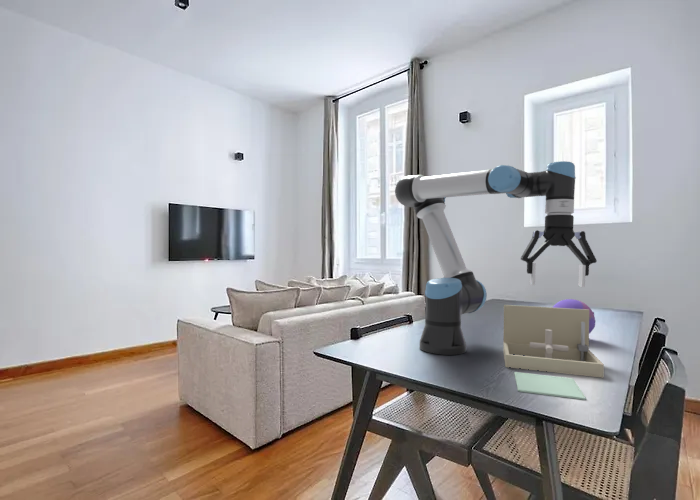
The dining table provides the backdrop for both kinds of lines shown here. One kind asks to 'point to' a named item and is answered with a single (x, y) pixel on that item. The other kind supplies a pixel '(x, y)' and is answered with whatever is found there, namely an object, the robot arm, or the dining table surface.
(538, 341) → the case
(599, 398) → the dining table surface
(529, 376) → the mat
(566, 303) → the decorative ball
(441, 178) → the robot arm
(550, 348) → the pipe connector
